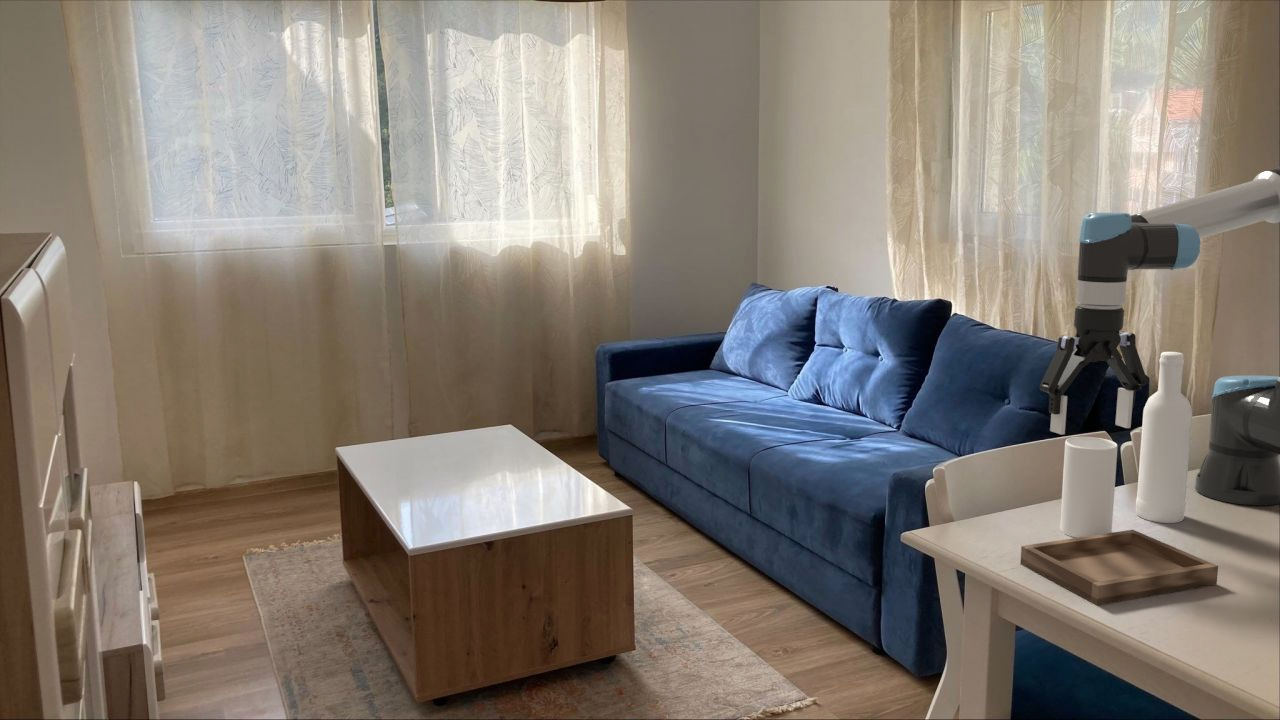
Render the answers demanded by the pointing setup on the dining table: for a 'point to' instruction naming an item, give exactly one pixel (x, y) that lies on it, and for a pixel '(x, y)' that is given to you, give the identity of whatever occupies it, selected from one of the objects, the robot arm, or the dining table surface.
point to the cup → (1088, 486)
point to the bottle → (1165, 446)
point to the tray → (1118, 566)
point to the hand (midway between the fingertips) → (1090, 429)
